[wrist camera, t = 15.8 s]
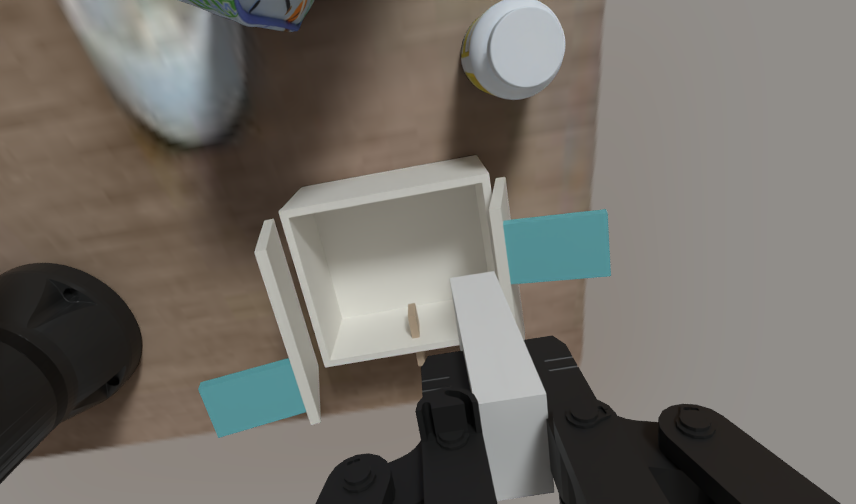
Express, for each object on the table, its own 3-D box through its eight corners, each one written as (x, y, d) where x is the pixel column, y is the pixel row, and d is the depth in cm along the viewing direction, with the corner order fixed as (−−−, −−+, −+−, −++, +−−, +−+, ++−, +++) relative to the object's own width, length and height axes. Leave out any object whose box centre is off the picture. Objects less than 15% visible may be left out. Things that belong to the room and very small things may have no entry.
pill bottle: (531, 96, 42) (571, 107, 32) (456, 91, 42) (470, 101, 31) (542, 12, 40) (589, -7, 29) (463, 6, 40) (480, -15, 29)
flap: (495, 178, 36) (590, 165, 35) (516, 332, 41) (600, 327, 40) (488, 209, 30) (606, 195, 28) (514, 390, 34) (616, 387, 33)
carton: (344, 341, 50) (331, 389, 43) (301, 187, 45) (278, 211, 37) (499, 314, 50) (514, 358, 42) (476, 154, 44) (489, 173, 37)
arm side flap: (318, 365, 42) (237, 388, 41) (273, 218, 37) (181, 239, 36) (320, 422, 35) (223, 451, 34) (265, 249, 30) (151, 277, 29)
